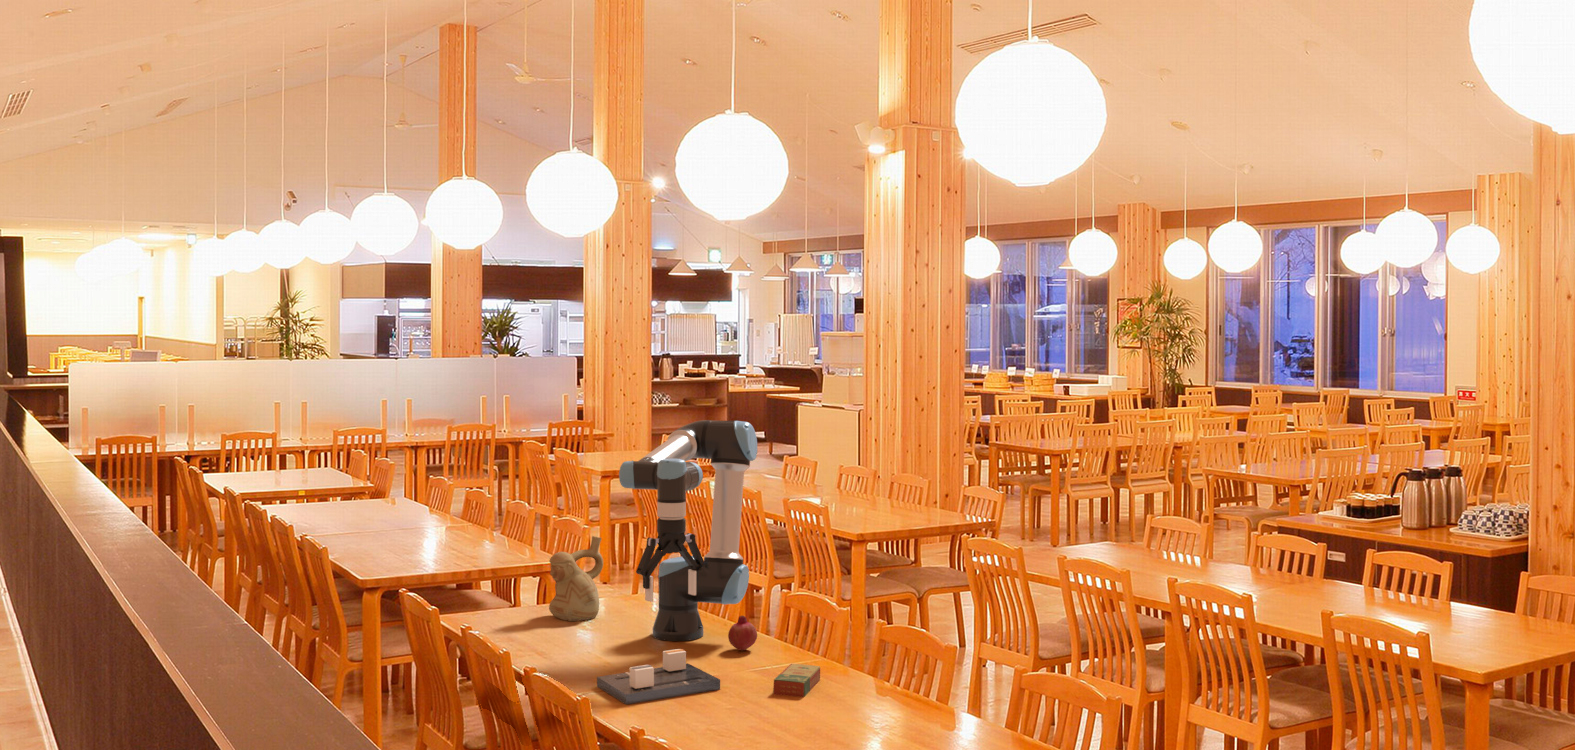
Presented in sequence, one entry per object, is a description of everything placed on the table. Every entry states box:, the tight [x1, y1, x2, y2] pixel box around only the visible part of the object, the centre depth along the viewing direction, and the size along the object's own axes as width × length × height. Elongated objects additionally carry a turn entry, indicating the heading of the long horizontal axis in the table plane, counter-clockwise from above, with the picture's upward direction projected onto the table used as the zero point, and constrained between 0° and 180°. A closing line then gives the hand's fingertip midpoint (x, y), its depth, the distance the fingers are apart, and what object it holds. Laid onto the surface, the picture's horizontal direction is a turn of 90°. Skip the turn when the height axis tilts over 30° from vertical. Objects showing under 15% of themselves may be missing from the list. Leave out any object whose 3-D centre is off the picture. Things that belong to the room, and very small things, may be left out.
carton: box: [772, 663, 821, 698], centre depth 326 cm, size 8×16×4 cm, turn 164°
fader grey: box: [629, 664, 655, 689], centre depth 316 cm, size 5×4×5 cm
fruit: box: [727, 615, 758, 652], centre depth 362 cm, size 8×8×10 cm
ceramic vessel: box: [548, 535, 604, 622], centre depth 402 cm, size 17×20×25 cm
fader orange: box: [662, 648, 687, 671], centre depth 332 cm, size 5×4×5 cm
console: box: [596, 662, 721, 705], centre depth 324 cm, size 26×18×3 cm
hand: (670, 597), depth 337 cm, fingers open, 13 cm apart
